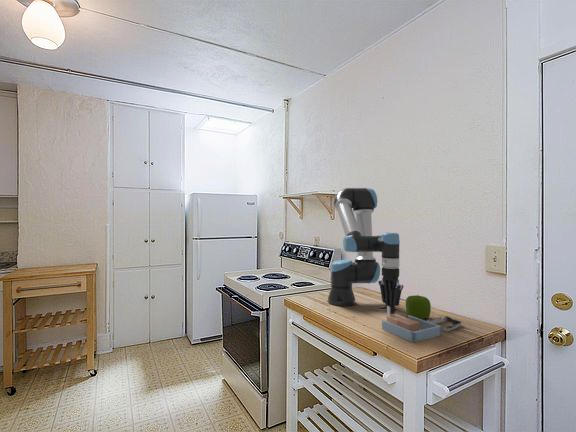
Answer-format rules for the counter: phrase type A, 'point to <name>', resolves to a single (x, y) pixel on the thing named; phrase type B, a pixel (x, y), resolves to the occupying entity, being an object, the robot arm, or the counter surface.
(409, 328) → the terracotta tile
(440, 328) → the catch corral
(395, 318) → the terracotta tile
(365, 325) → the counter surface
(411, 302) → the apple
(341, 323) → the counter surface
